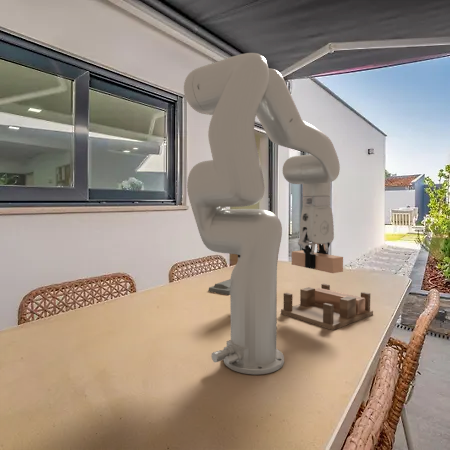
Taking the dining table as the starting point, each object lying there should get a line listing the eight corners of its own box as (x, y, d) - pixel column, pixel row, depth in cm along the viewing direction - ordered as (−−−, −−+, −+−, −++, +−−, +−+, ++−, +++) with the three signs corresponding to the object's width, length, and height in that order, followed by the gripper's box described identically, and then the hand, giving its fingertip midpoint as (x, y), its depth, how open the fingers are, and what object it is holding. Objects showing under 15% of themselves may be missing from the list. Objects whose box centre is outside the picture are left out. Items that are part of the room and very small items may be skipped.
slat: (342, 271, 92) (343, 256, 92) (332, 273, 90) (332, 258, 90) (301, 263, 106) (301, 250, 106) (291, 264, 104) (291, 251, 104)
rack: (332, 330, 89) (333, 306, 89) (281, 313, 103) (281, 292, 103) (373, 314, 101) (373, 293, 101) (321, 301, 116) (321, 283, 115)
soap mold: (256, 285, 141) (256, 277, 141) (229, 296, 124) (229, 287, 124) (235, 282, 147) (235, 274, 146) (207, 292, 130) (207, 283, 130)
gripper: (308, 203, 89) (307, 272, 90) (345, 202, 99) (344, 265, 101) (286, 203, 95) (286, 268, 96) (323, 202, 105) (322, 261, 106)
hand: (315, 266), depth 98 cm, fingers closed on slat, 4 cm apart
